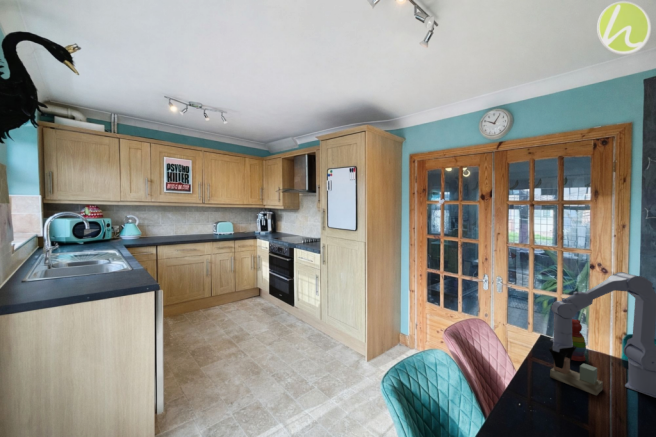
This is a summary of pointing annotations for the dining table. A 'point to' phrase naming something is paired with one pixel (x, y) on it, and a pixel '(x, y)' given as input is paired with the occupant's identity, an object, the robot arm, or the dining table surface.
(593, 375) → the sage block
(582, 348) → the stacking bear
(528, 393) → the dining table surface
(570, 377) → the birch board
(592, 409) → the dining table surface
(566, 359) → the terracotta block
